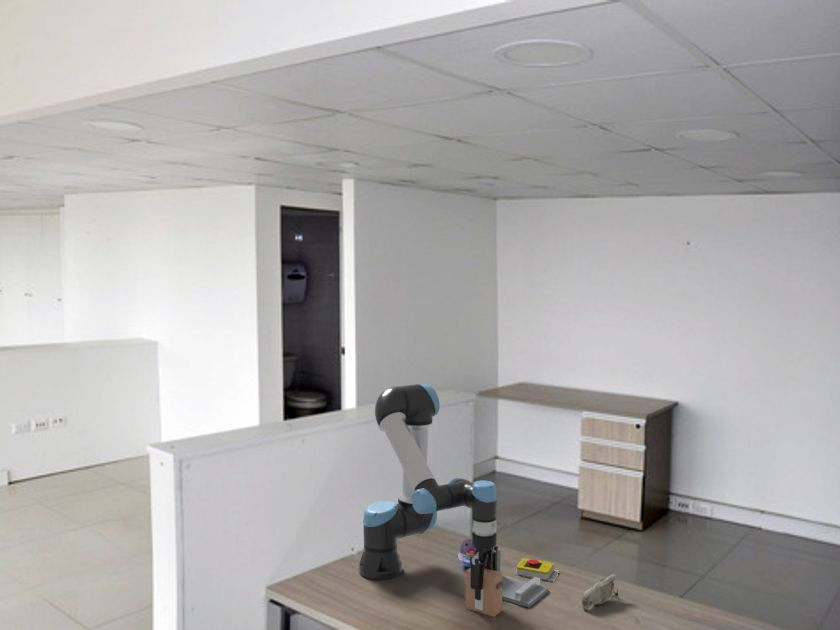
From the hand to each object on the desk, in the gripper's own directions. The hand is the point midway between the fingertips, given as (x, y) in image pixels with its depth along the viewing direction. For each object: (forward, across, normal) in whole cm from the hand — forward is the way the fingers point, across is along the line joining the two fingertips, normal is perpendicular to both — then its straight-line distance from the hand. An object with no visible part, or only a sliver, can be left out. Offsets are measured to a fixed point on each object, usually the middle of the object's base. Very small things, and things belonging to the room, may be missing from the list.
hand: (483, 605), depth 227 cm
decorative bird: (+2, +25, -28) cm, 37 cm away
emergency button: (+2, +34, -1) cm, 34 cm away
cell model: (+2, +26, +20) cm, 33 cm away
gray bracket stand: (+1, +16, -1) cm, 16 cm away
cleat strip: (0, +16, -7) cm, 17 cm away
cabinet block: (+1, 0, 0) cm, 1 cm away
